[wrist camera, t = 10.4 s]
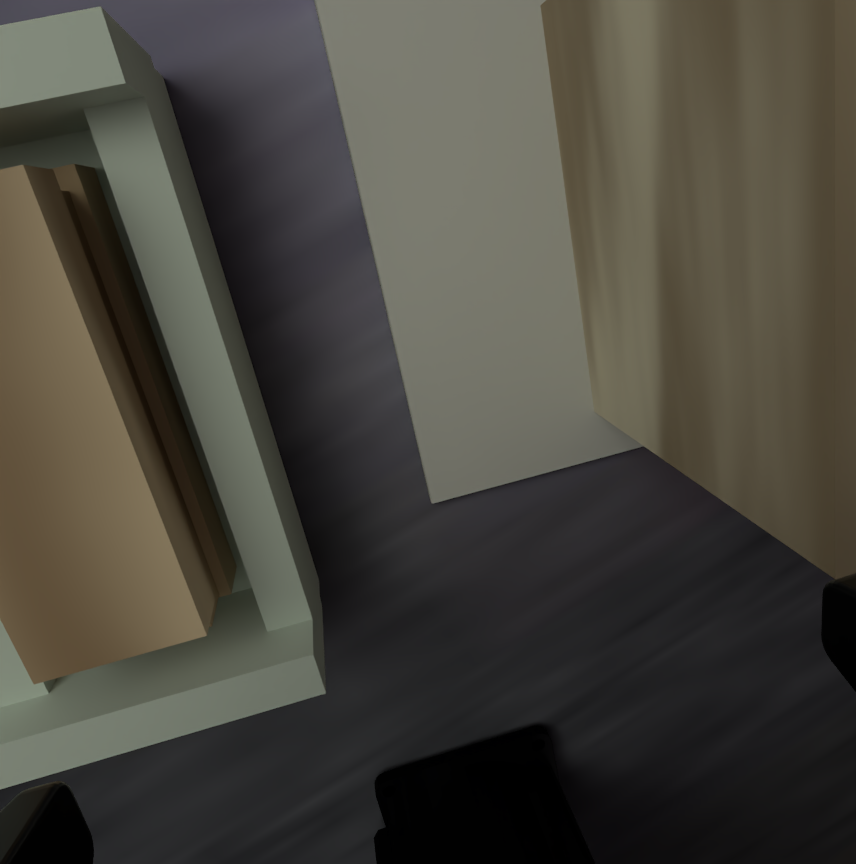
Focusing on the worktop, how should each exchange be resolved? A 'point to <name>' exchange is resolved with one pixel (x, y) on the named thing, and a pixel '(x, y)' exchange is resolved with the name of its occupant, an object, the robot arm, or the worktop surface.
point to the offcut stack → (91, 446)
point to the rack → (199, 402)
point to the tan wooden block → (720, 244)
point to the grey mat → (469, 233)
